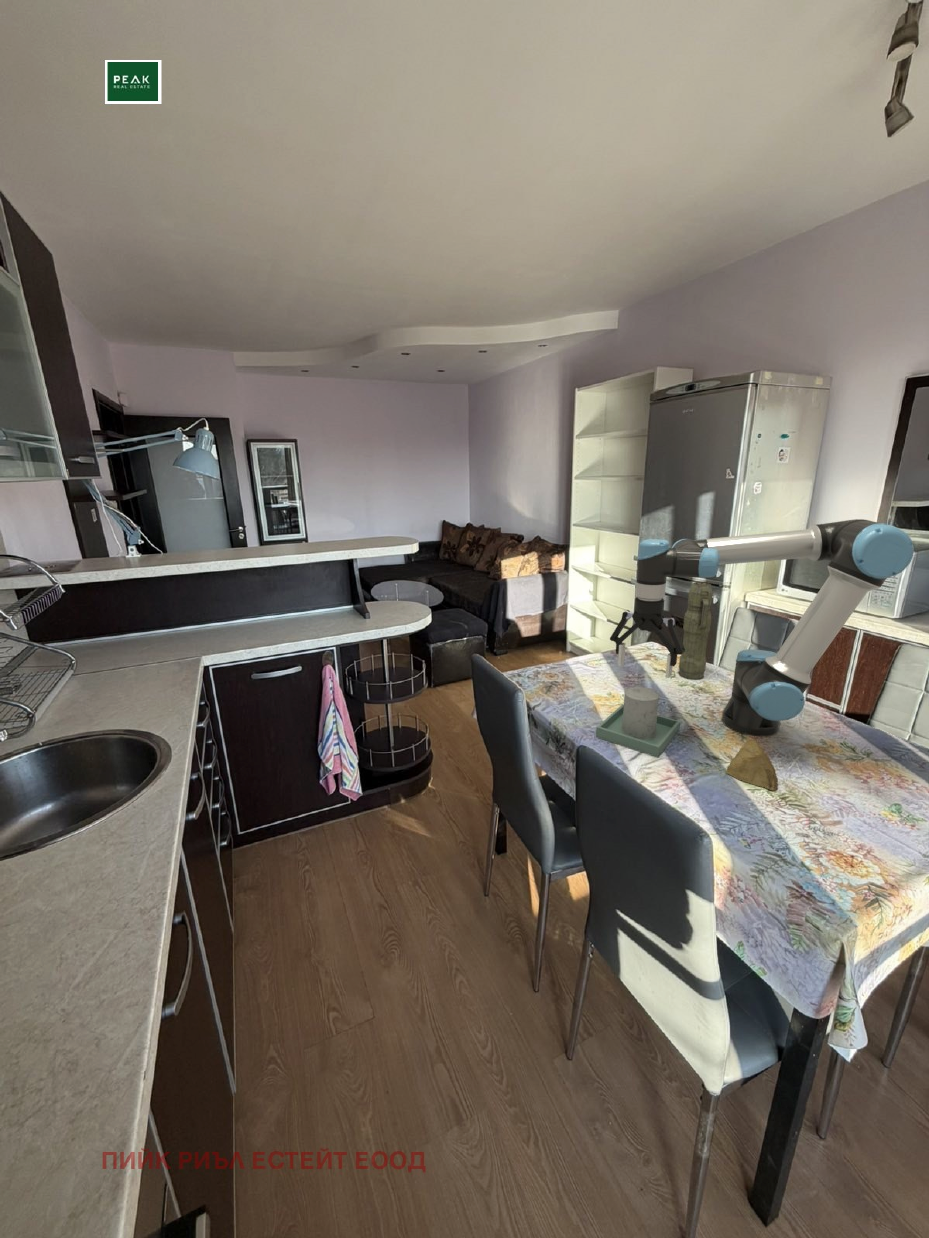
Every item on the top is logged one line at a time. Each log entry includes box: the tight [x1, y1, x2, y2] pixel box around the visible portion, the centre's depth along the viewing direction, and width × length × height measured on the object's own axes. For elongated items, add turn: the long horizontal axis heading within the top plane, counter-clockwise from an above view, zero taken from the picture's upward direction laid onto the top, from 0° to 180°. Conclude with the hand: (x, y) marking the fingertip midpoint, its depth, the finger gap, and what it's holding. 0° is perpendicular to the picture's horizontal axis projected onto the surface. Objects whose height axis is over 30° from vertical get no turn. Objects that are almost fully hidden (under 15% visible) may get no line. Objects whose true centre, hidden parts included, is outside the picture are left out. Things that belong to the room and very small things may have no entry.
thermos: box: [678, 581, 714, 681], centre depth 183 cm, size 9×12×35 cm
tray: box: [595, 704, 681, 759], centre depth 149 cm, size 18×18×3 cm
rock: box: [724, 738, 779, 791], centre depth 125 cm, size 11×9×10 cm
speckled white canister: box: [622, 685, 660, 740], centre depth 147 cm, size 10×10×12 cm
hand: (644, 670), depth 143 cm, fingers open, 13 cm apart
